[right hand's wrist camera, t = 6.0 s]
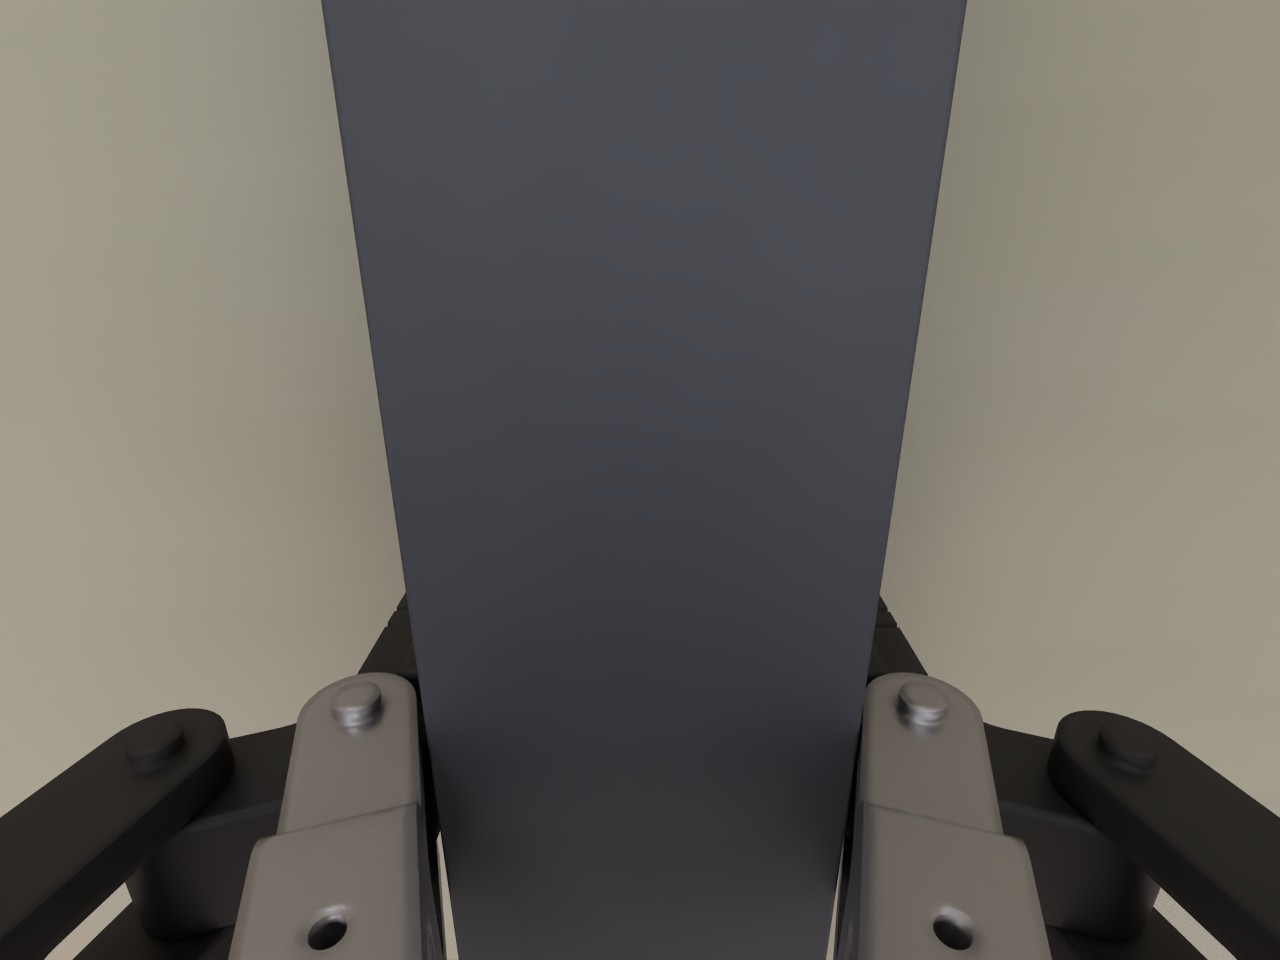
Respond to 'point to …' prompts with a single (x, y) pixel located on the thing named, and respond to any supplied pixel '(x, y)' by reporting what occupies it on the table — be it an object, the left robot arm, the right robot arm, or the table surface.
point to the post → (643, 435)
